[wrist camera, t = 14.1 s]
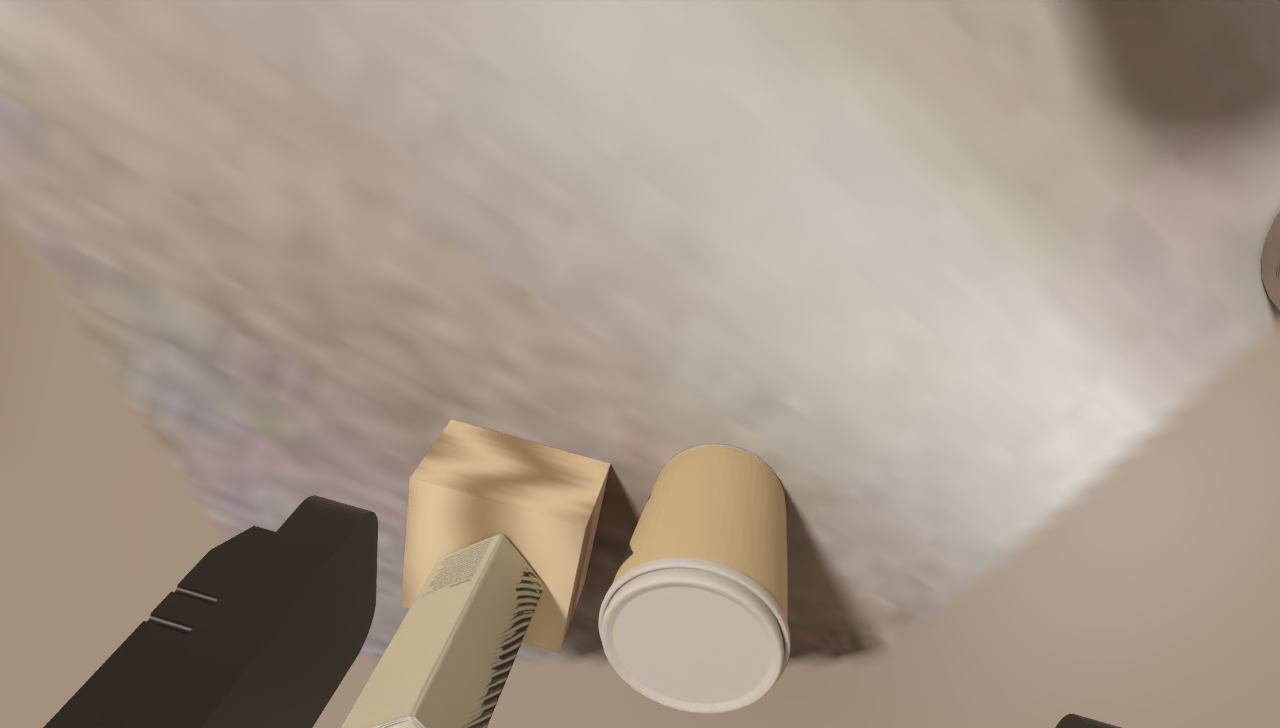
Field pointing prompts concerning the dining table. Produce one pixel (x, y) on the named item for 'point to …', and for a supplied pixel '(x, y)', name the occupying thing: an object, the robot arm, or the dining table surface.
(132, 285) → the dining table surface
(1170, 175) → the dining table surface
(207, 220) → the dining table surface
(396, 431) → the dining table surface
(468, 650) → the box
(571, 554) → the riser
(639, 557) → the coffee cup
